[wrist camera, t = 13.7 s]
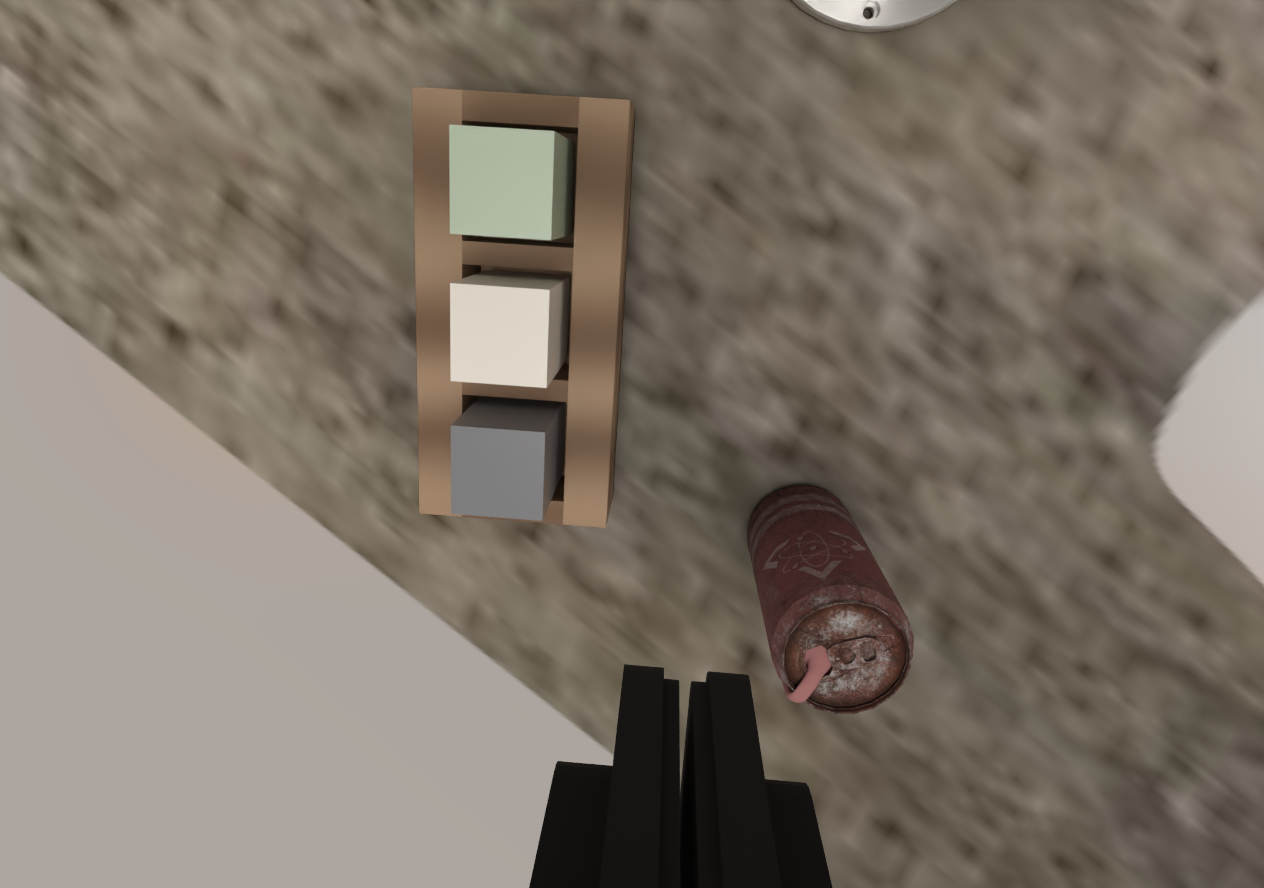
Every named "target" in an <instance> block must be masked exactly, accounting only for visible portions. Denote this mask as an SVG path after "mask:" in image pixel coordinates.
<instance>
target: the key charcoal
mask: <svg viewBox="0 0 1264 888" xmlns="http://www.w3.org/2000/svg"><path fill="white" fill-rule="evenodd" d="M564 419H565V402H559V401H546V400H532V399H518V398H505V397H491V396H480V397H479V398H478V399H477V400H476V401H475V402H474V403H473V404H472V405H471V406H470V407H469V408H468V409H467V410H466V411H465V412H464V413H463V414H462V415H461V416H460V417H459V418H458V419H457V420H456V421H455V422H454V423H453V424H452V425H451V514H459V515H472V516H485V517H498V518H511V519H524V520H536V521H543V518H544V516H545V514H546V511H547V509H548V507H549V504H550V502H551V499H552V497H553V495H554V492H555V490H556V487H557V485H558V483H559V480H560V478H561V476H562V471H563V445H564Z"/></svg>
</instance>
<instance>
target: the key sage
mask: <svg viewBox="0 0 1264 888" xmlns="http://www.w3.org/2000/svg"><path fill="white" fill-rule="evenodd" d="M574 157H575V143H574V142H572V141H571V140H569V139H567V138H566V137H564V136H562V135H560V134H559V133H557V132H555V131H546V130H530V129H514V128H498V127H481V126H465V125H449V174H450V234H461V235H476V236H491V237H506V238H521V239H536V240H554V239H558V238H561V237H564V236H568V235H571V234H572V210H573V183H574Z"/></svg>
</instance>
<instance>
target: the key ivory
mask: <svg viewBox="0 0 1264 888" xmlns="http://www.w3.org/2000/svg"><path fill="white" fill-rule="evenodd" d="M569 288H570V276H564V275H549V274H535V273H520V272H505V271H490V270H486V271H483V272H480V273H477V274H474V275H471V276H469V277H466V278H463V279H460V280H457V281H455V282H452V283H450V378H451V381H456V382H470V383H484V384H497V385H511V386H525V387H539V388H547V387H548V385H549V384H550V382H551V381H552V380H553V378H554V377H555V375H556V374H557V372H558V371H559V370H560V368H561V367H562V365H563V364H564V362H565V361H566V360H567V341H568V314H569Z"/></svg>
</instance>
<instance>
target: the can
mask: <svg viewBox="0 0 1264 888" xmlns="http://www.w3.org/2000/svg"><path fill="white" fill-rule="evenodd" d="M748 547H749V552H750V556H751V561H752V566H753V571H754V575H755V580H756V585H757V590H758V595H759V599H760V604H761V609H762V614H763V618H764V623H765V628H766V633H767V638H768V642H769V647H770V652H771V657H772V660H773V663H774V666H775V668H776V671H777V674H778V676H779V678H780V679H781V680H782V683H783V686H784V690H785V694H786V697H787V698H788V699H789V700H791V701H793V702H796V703H799V702H806V703H807V704H809V705H811V706H812V707H814V708H816V709H819V710H822V711H826V712H830V713H834V714H855V713H858V712H862V711H865V710H869V709H873V708H875V707H877V706H878V705H880V704H881V703H883V702H885V701H886V700H888V699H890V698H891V697H892V696H893V695H894V693H895V692H896V691H897V690H898V689H899V688H900V687H901V686H902V685H903V683H904V681H905V678H906V676H907V674H908V671H909V669H910V664H911V660H912V657H913V642H914V636H913V633H912V630H911V627H910V624H909V621H908V618H907V616H906V614H905V613H904V611H903V609H902V607H901V605H900V604H899V602H898V600H897V598H896V596H895V595H894V593H893V591H892V589H891V587H890V586H889V584H888V582H887V580H886V578H885V577H884V575H883V573H882V571H881V569H880V568H879V566H878V564H877V562H876V560H875V559H874V557H873V555H872V553H871V551H870V550H869V548H868V546H867V544H866V542H865V541H864V539H863V537H862V535H861V533H860V532H859V530H858V528H857V526H856V524H855V523H854V521H853V519H852V517H851V515H850V514H849V512H848V510H847V509H846V508H845V507H844V505H843V504H842V503H841V501H840V500H839V499H838V498H836V497H835V496H833V495H832V494H830V493H829V492H827V491H826V490H823V489H819V488H815V487H812V486H791V487H788V488H785V489H782V490H779V491H776V492H775V493H773V494H772V495H770V496H769V497H768V498H766V499H765V500H763V501H762V502H761V504H760V505H759V506H758V508H757V509H756V510H755V512H754V513H753V514H752V517H751V520H750V523H749V526H748Z"/></svg>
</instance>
